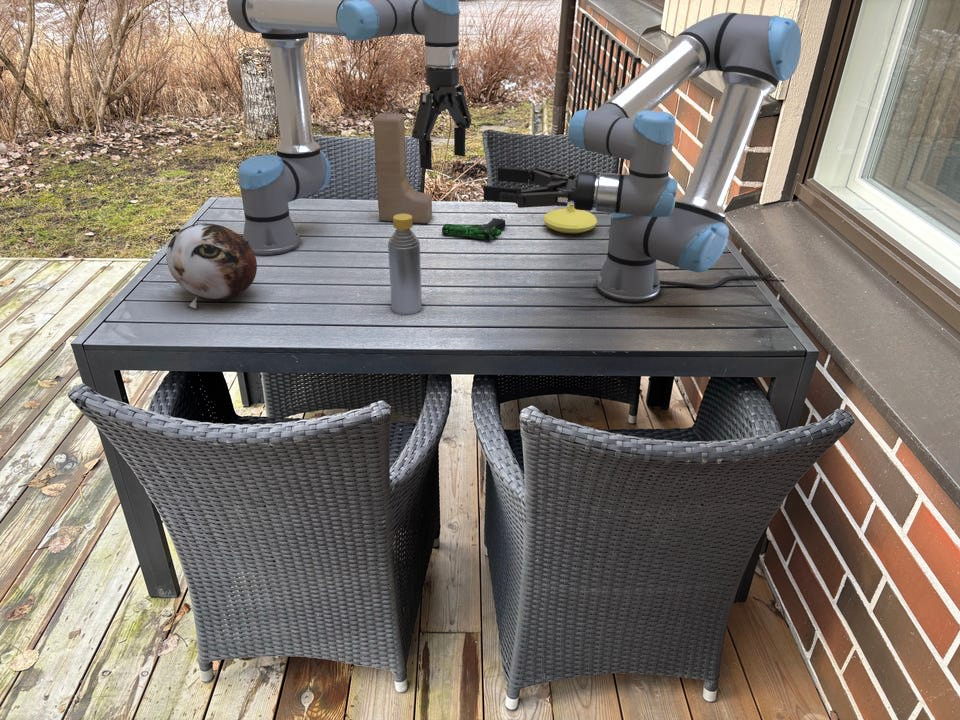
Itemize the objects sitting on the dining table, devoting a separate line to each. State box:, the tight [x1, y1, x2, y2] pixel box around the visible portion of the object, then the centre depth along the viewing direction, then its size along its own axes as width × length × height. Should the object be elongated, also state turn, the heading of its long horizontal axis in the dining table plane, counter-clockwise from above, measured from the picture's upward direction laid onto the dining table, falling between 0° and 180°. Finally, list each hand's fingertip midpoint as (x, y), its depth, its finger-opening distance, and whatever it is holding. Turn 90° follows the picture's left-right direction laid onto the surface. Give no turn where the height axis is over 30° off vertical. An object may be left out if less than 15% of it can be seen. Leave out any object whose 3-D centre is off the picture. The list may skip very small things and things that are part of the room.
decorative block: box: [372, 112, 433, 224], centre depth 209 cm, size 8×15×30 cm, turn 82°
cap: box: [392, 214, 414, 230], centre depth 155 cm, size 4×4×2 cm
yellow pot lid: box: [543, 203, 598, 234], centre depth 209 cm, size 16×16×7 cm
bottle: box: [387, 228, 423, 315], centre depth 160 cm, size 7×7×22 cm
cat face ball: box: [165, 222, 258, 309], centre depth 165 cm, size 22×18×20 cm
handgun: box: [441, 217, 506, 242], centre depth 207 cm, size 16×3×15 cm
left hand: (443, 161), depth 169 cm, fingers open, 13 cm apart
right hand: (491, 183), depth 146 cm, fingers open, 13 cm apart
